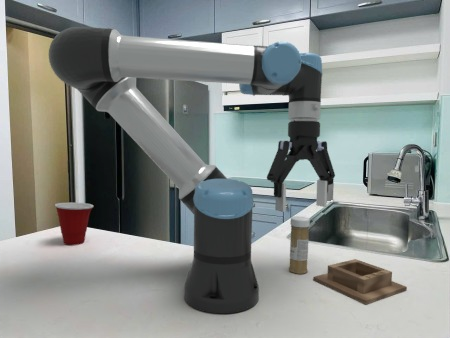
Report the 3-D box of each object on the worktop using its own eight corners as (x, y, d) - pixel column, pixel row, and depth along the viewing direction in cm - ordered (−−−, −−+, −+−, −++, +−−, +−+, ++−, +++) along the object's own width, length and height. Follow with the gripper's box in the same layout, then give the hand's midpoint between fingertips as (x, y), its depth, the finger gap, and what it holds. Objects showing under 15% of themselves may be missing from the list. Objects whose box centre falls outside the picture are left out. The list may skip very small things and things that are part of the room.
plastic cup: (97, 244, 105) (97, 205, 104) (58, 249, 99) (58, 208, 98) (89, 236, 114) (88, 199, 113) (52, 240, 108) (52, 202, 107)
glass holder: (336, 201, 196) (337, 175, 194) (325, 204, 185) (326, 176, 184) (321, 199, 201) (322, 174, 200) (310, 202, 191) (311, 175, 190)
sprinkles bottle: (286, 268, 88) (288, 215, 87) (304, 267, 88) (306, 215, 87) (291, 274, 83) (293, 219, 82) (310, 274, 84) (312, 219, 83)
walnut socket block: (365, 304, 68) (366, 284, 68) (313, 280, 80) (313, 263, 80) (406, 290, 76) (407, 272, 75) (353, 269, 88) (353, 254, 87)
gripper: (273, 117, 73) (271, 216, 75) (351, 122, 87) (348, 206, 88) (252, 119, 80) (251, 210, 81) (328, 123, 93) (325, 202, 94)
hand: (301, 208), depth 85 cm, fingers open, 13 cm apart
